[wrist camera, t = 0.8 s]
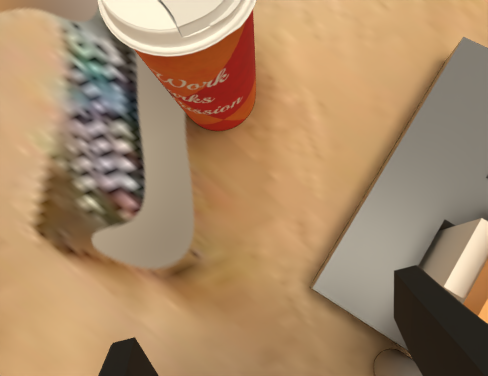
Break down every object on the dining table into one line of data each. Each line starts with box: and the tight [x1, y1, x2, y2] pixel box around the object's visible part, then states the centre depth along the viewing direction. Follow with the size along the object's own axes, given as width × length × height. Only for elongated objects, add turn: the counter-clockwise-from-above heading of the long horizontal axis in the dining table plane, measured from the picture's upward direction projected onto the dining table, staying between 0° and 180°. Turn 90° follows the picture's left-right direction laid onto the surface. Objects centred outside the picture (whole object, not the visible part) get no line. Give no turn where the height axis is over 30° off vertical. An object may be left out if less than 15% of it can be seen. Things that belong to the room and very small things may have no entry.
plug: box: [418, 218, 488, 304], centre depth 23 cm, size 4×6×8 cm, turn 147°
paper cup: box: [98, 0, 257, 131], centre depth 25 cm, size 8×8×14 cm
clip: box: [374, 259, 488, 376], centre depth 22 cm, size 12×2×10 cm, turn 147°
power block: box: [310, 37, 488, 350], centre depth 26 cm, size 14×20×3 cm
